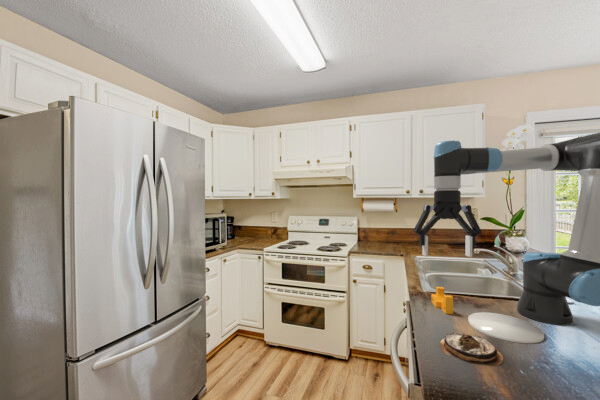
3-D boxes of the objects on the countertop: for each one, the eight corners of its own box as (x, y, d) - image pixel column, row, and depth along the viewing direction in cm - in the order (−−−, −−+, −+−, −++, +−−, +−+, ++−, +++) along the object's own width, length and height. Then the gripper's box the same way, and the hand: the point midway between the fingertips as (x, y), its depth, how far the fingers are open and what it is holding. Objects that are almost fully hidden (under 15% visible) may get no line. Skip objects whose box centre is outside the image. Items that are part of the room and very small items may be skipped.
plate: (532, 322, 95) (532, 319, 95) (554, 351, 77) (555, 347, 77) (465, 311, 104) (465, 308, 104) (471, 335, 86) (471, 331, 86)
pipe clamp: (431, 301, 114) (431, 286, 114) (442, 302, 113) (442, 287, 113) (440, 313, 102) (440, 296, 102) (453, 314, 102) (453, 297, 102)
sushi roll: (511, 372, 67) (511, 355, 67) (442, 360, 73) (442, 344, 73) (494, 342, 81) (493, 328, 81) (437, 334, 86) (437, 321, 86)
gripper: (480, 190, 91) (480, 254, 91) (403, 190, 93) (403, 252, 93) (495, 189, 83) (494, 259, 84) (411, 189, 85) (410, 257, 85)
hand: (446, 256), depth 88 cm, fingers open, 13 cm apart
